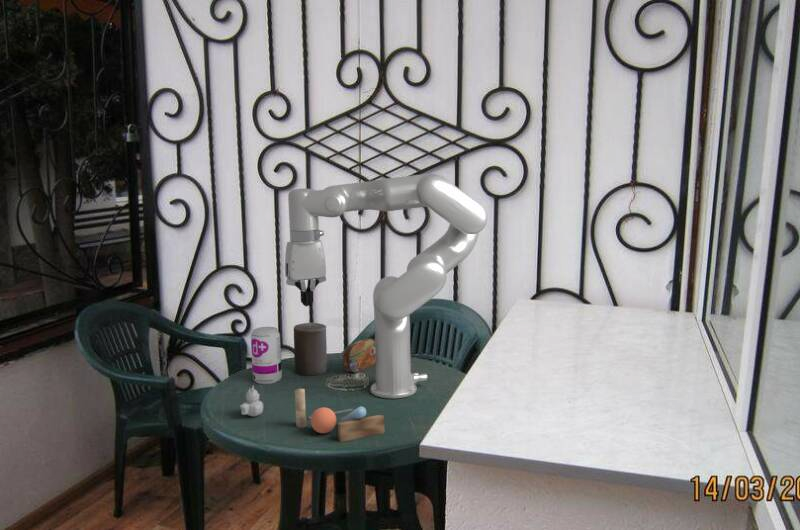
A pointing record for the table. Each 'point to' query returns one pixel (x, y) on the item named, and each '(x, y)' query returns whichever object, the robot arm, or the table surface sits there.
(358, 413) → the pin
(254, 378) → the supplement can
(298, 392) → the birch pin
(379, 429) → the back rail
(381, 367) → the robot arm
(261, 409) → the white figurine
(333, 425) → the ball
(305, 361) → the pillar candle
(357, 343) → the tin
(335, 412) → the lane line
